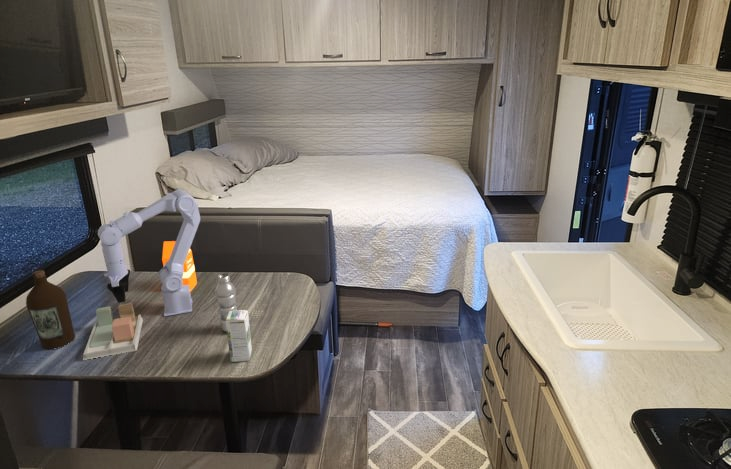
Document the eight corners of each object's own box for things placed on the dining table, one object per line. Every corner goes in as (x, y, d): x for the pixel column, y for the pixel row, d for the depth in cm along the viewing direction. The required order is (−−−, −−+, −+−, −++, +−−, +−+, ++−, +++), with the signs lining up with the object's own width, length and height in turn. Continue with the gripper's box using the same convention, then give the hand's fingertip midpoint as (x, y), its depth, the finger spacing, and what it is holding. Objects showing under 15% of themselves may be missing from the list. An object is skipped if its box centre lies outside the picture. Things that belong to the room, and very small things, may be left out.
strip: (98, 325, 162) (94, 309, 160) (116, 322, 164) (112, 306, 161) (90, 347, 149) (86, 330, 147) (110, 344, 151) (106, 326, 149)
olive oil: (46, 335, 158) (24, 267, 150) (81, 330, 161) (62, 263, 152) (34, 353, 149) (11, 282, 140) (72, 347, 151) (51, 277, 143)
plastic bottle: (245, 325, 161) (238, 272, 154) (233, 336, 155) (225, 281, 148) (228, 322, 163) (221, 270, 156) (217, 333, 157) (208, 278, 150)
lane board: (95, 327, 162) (93, 322, 161) (142, 319, 167) (141, 314, 166) (83, 360, 144) (81, 354, 144) (136, 350, 149) (135, 344, 148)
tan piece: (120, 321, 164) (116, 305, 162) (138, 318, 165) (134, 302, 163) (114, 343, 151) (110, 325, 149) (133, 339, 153) (129, 322, 151)
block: (133, 329, 157) (130, 316, 155) (132, 337, 153) (128, 324, 151) (117, 332, 156) (114, 319, 154) (115, 340, 151) (111, 327, 149)
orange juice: (190, 292, 185) (182, 244, 178) (168, 292, 186) (158, 245, 178) (197, 283, 193) (189, 237, 186) (175, 283, 193) (167, 237, 186)
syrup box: (233, 351, 147) (227, 310, 142) (253, 350, 148) (247, 309, 142) (230, 362, 142) (224, 320, 137) (250, 361, 142) (244, 319, 137)
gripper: (105, 253, 161) (113, 289, 166) (97, 270, 148) (106, 308, 153) (128, 250, 163) (135, 286, 168) (121, 267, 150) (130, 305, 155)
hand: (123, 296), depth 161 cm, fingers open, 7 cm apart
